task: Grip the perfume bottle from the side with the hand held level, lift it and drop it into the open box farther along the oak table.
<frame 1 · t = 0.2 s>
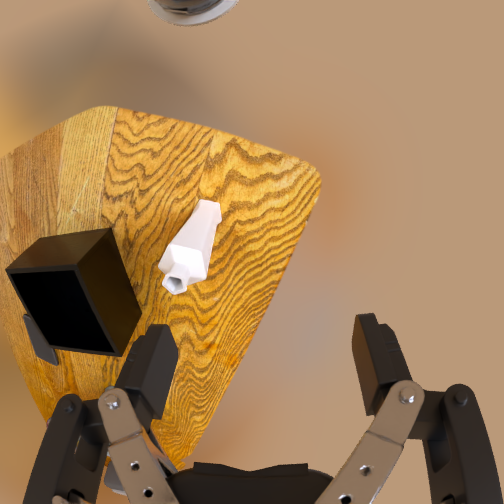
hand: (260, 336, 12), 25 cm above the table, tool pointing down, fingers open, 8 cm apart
open box: (88, 275, 43), on the table
alarm clock: (128, 464, 95), on the table
perfume bottle: (207, 214, 37), on the table
smartphone: (42, 339, 54), on the table
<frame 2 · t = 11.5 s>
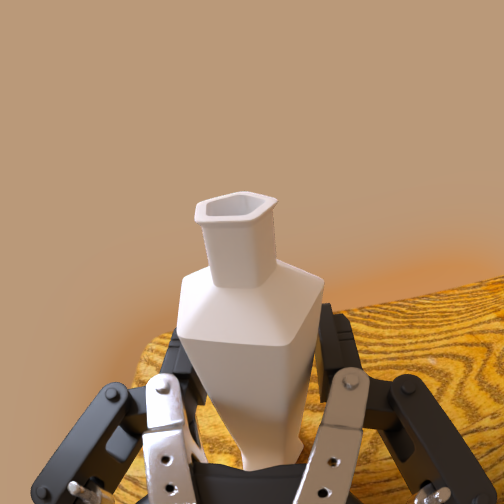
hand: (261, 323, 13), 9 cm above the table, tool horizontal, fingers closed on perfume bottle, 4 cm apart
perfume bottle: (273, 452, 15), on the table, touching gripper
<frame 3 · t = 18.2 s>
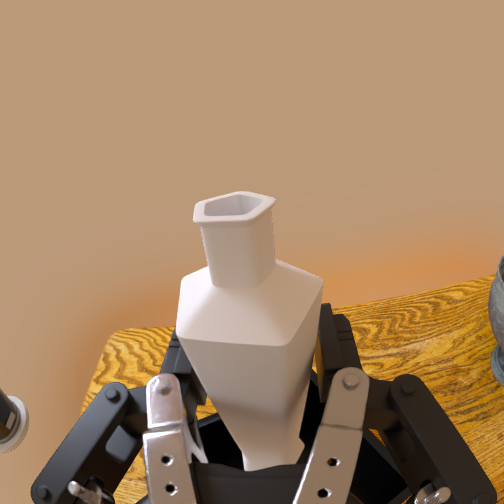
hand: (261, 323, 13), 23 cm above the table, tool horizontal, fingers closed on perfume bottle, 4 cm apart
open box: (283, 497, 22), on the table
perfume bottle: (274, 452, 15), point 15 cm above the table, touching gripper
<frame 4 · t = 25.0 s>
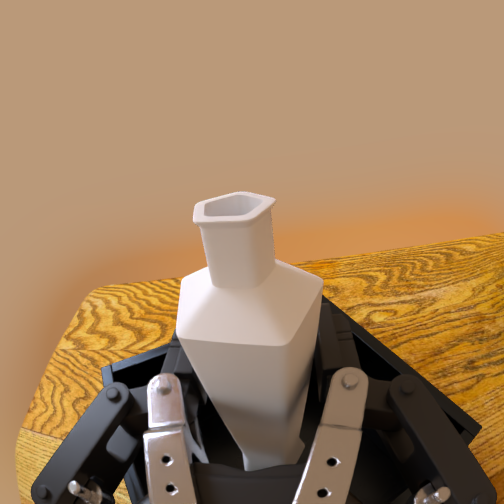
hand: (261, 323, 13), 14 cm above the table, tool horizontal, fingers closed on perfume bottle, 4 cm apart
open box: (279, 473, 17), on the table
perfume bottle: (274, 452, 15), point 5 cm above the table, touching gripper
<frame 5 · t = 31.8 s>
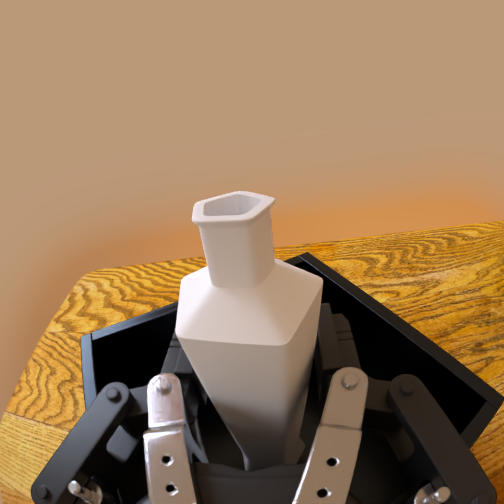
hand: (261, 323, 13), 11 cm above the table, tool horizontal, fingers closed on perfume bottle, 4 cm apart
open box: (274, 462, 16), on the table
perfume bottle: (275, 452, 15), point 2 cm above the table, touching gripper
when the fingers open (14 cm above the table, at t = 38.4 s): perfume bottle drops 5 cm, resting on open box.
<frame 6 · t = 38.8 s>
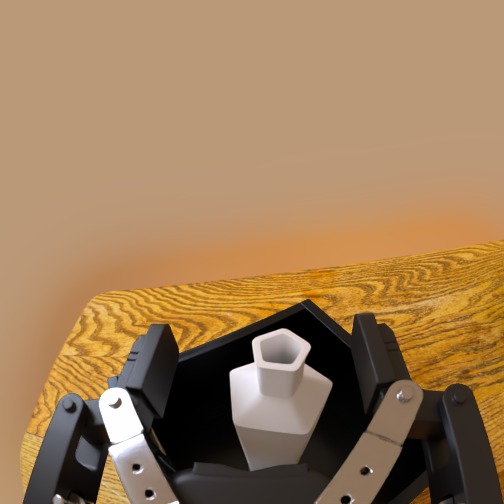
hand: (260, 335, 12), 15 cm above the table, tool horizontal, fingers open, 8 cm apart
open box: (277, 478, 18), on the table
perfume bottle: (275, 475, 18), point 1 cm above the table, touching open box
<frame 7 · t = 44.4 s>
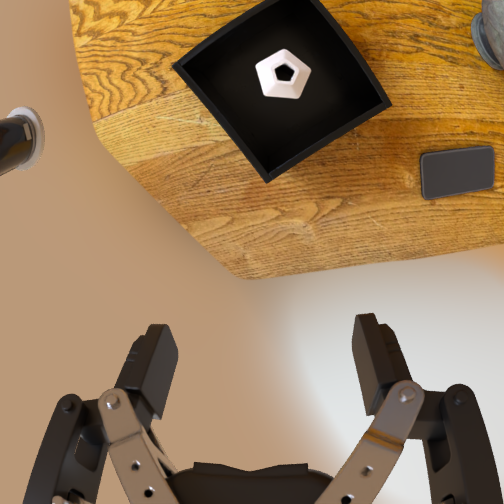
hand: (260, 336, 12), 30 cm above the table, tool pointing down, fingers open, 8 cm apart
open box: (280, 82, 33), on the table
perfume bottle: (279, 81, 32), point 1 cm above the table, touching open box
smartphone: (458, 170, 36), on the table
bowl: (491, 37, 24), on the table
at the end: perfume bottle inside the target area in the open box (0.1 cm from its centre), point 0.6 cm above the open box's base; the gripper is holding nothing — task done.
